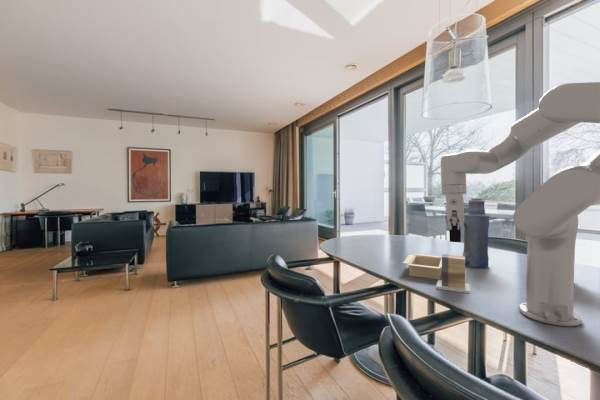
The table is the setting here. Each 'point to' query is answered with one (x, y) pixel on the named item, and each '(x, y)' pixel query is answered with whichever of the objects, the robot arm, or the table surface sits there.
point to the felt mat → (466, 290)
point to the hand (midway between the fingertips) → (455, 239)
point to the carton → (424, 266)
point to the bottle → (476, 234)
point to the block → (453, 271)
